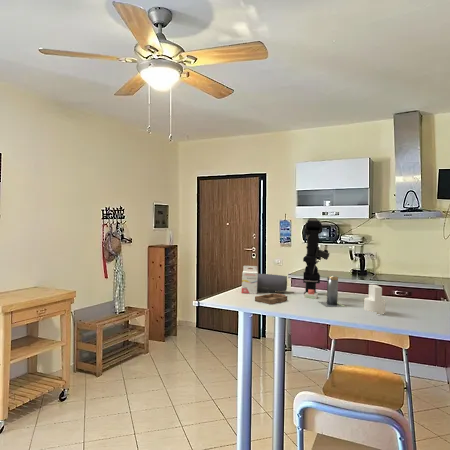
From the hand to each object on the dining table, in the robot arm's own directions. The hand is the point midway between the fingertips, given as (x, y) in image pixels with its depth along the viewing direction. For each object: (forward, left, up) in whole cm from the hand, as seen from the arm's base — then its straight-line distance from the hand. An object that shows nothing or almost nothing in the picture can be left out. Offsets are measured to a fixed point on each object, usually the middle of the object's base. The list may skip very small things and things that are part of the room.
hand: (311, 274), depth 209 cm
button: (0, 0, -10) cm, 10 cm away
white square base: (0, 0, -13) cm, 13 cm away
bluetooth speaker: (-11, -27, -13) cm, 32 cm away
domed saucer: (0, -17, -13) cm, 21 cm away
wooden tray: (+14, -18, -13) cm, 26 cm away
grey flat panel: (+13, +12, -13) cm, 22 cm away
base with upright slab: (+16, +31, -13) cm, 37 cm away
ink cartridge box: (-2, -34, -13) cm, 36 cm away
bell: (+13, +12, -12) cm, 21 cm away
